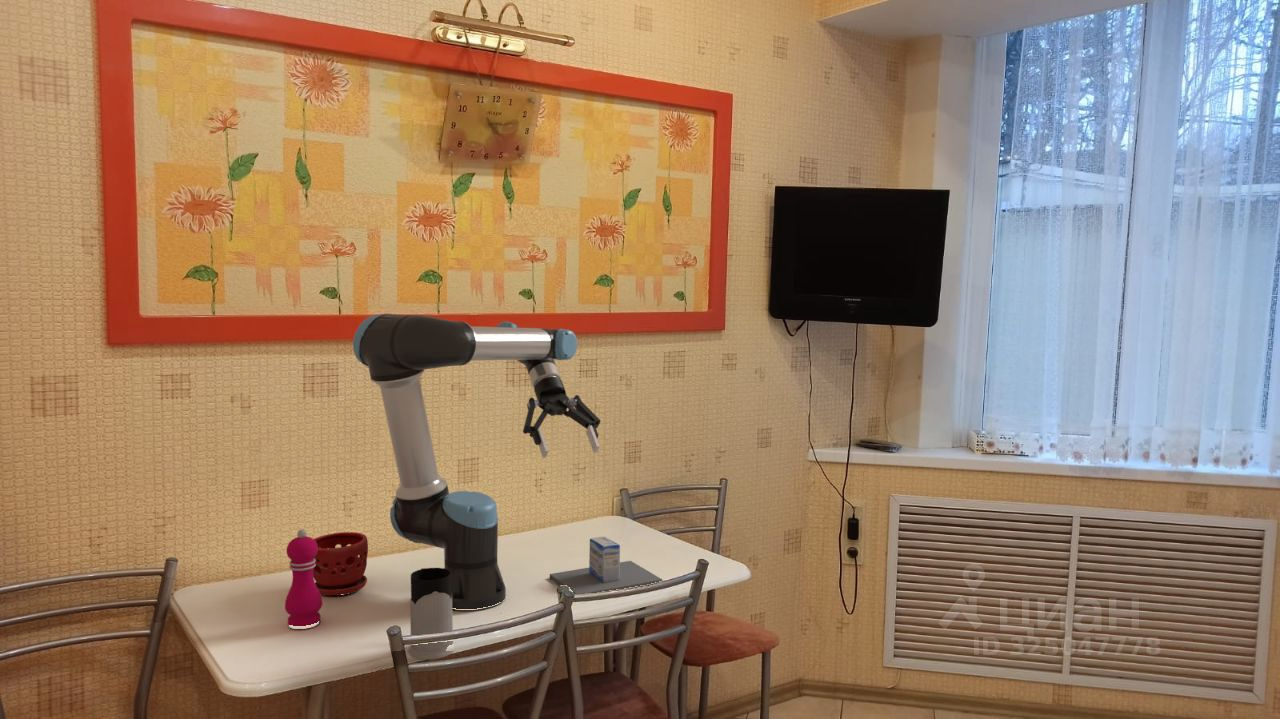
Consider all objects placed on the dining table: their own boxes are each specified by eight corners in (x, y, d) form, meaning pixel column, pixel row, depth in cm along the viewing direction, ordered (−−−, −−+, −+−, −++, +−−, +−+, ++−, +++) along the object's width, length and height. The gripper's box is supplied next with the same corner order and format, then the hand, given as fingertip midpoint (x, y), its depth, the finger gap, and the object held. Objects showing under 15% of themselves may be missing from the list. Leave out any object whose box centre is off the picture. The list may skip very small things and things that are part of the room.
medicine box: (588, 573, 211) (588, 538, 210) (605, 570, 213) (605, 535, 213) (603, 583, 204) (603, 546, 203) (620, 580, 206) (620, 544, 206)
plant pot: (338, 577, 210) (337, 528, 209) (380, 586, 205) (379, 535, 203) (295, 594, 199) (294, 542, 198) (339, 604, 193) (337, 550, 192)
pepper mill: (286, 633, 176) (283, 536, 175) (284, 620, 183) (282, 527, 181) (324, 628, 179) (321, 532, 177) (321, 615, 186) (319, 523, 184)
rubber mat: (577, 599, 197) (577, 594, 196) (549, 578, 211) (549, 574, 210) (662, 583, 207) (662, 579, 207) (630, 564, 221) (630, 560, 221)
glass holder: (412, 662, 163) (411, 584, 162) (400, 634, 176) (399, 561, 175) (459, 654, 167) (458, 577, 166) (444, 628, 180) (443, 556, 178)
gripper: (587, 391, 234) (612, 456, 222) (497, 396, 222) (519, 465, 210) (595, 373, 229) (622, 438, 217) (505, 377, 217) (527, 447, 205)
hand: (571, 452), depth 214 cm, fingers open, 13 cm apart
